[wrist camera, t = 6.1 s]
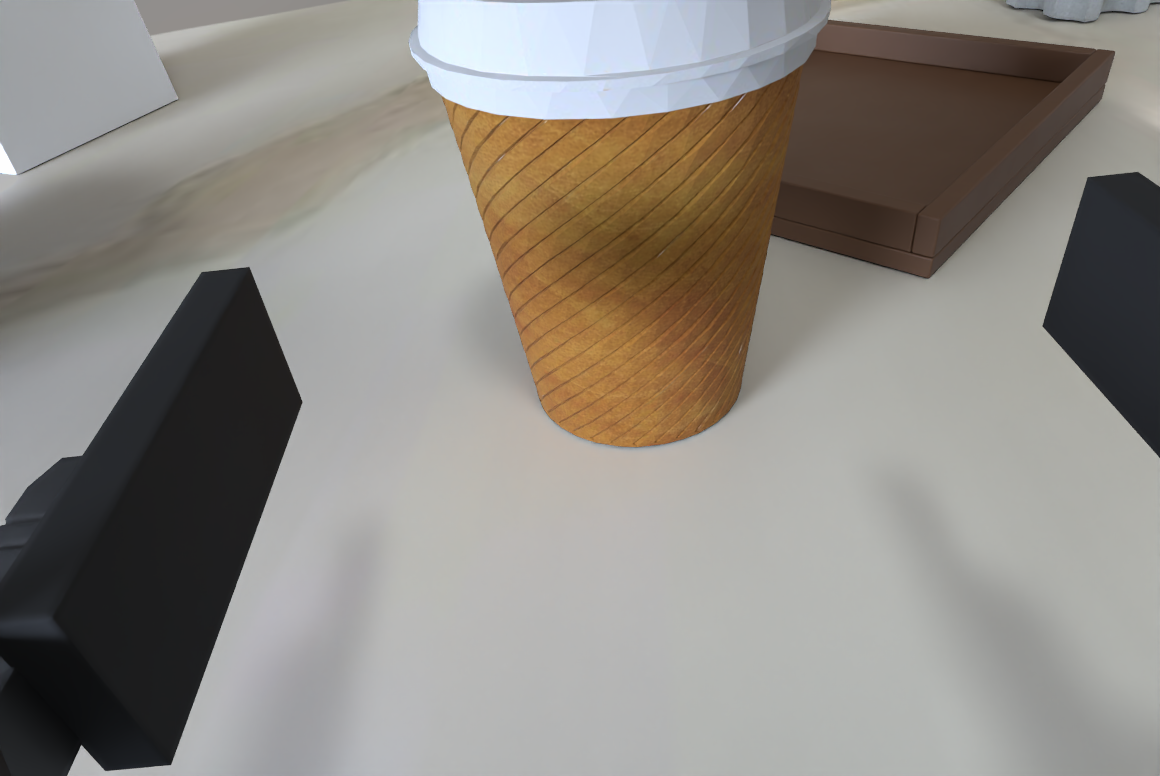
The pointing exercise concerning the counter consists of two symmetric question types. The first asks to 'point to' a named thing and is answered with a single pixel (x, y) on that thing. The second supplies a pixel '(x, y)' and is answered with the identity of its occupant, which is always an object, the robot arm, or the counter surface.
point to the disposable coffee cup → (625, 188)
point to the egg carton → (1081, 7)
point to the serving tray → (922, 136)
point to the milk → (72, 75)
